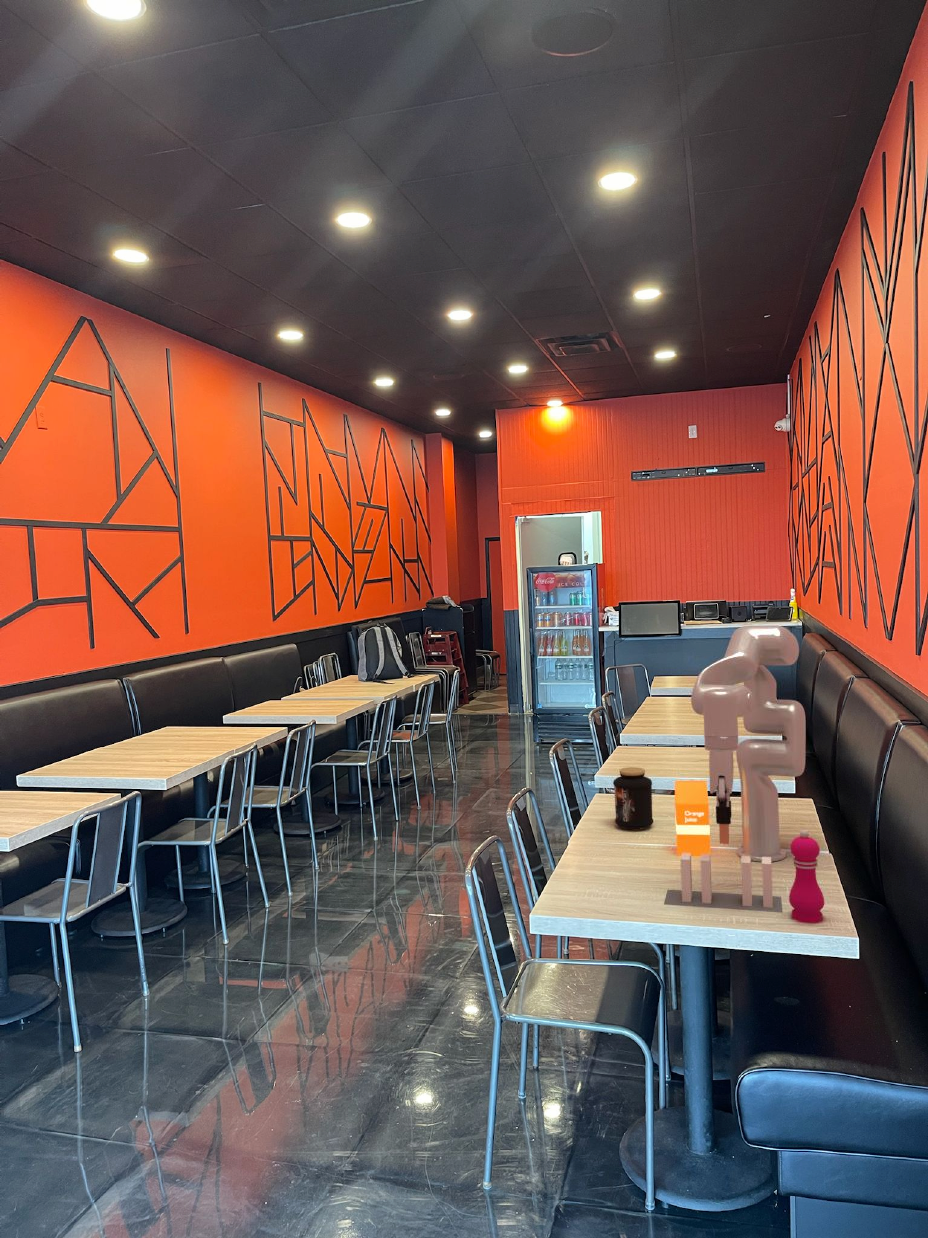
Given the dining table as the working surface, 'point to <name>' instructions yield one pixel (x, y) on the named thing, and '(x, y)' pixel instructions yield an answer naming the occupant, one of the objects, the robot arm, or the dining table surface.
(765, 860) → the domino
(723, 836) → the domino
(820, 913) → the pepper mill
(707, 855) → the domino
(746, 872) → the domino
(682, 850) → the orange juice
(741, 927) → the dining table surface
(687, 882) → the domino
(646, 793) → the container
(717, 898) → the mat
